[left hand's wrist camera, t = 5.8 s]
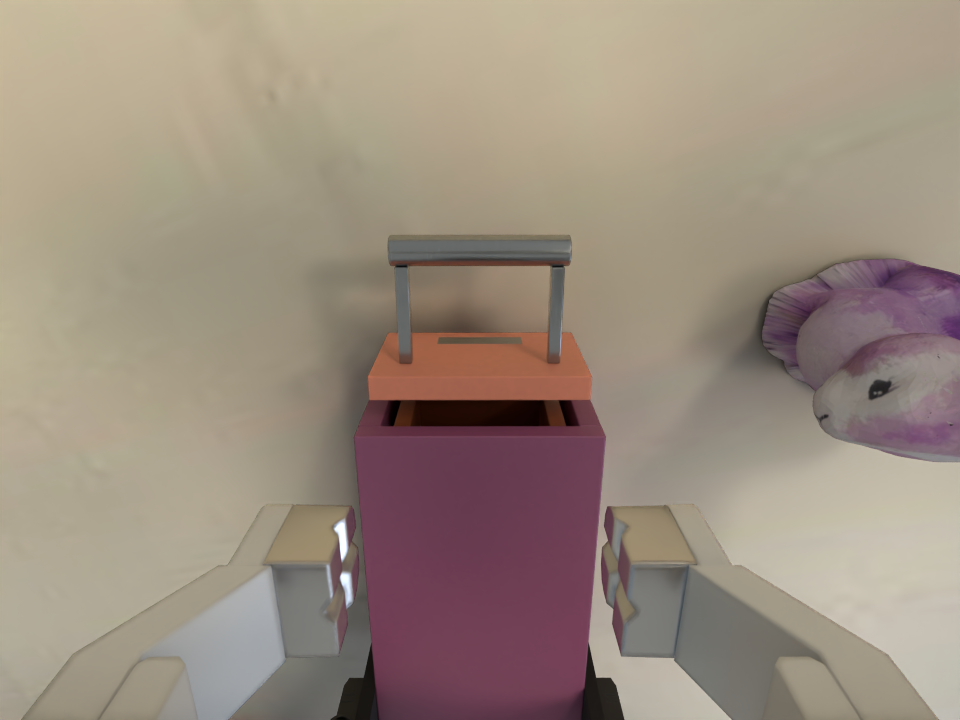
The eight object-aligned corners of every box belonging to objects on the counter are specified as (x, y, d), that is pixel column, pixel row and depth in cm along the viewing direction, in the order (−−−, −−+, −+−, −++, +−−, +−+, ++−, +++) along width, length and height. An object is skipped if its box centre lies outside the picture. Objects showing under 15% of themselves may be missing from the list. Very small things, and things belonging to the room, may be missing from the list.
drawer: (381, 221, 30) (357, 242, 24) (578, 221, 30) (602, 242, 24) (404, 607, 39) (390, 691, 33) (555, 607, 39) (569, 691, 33)
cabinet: (382, 367, 34) (353, 436, 26) (577, 367, 34) (606, 436, 26) (399, 639, 41) (381, 756, 34) (560, 639, 41) (579, 756, 34)
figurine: (714, 329, 33) (887, 472, 19) (879, 204, 31) (1216, 262, 17) (803, 439, 36) (1013, 637, 22) (961, 332, 33) (1314, 476, 19)
